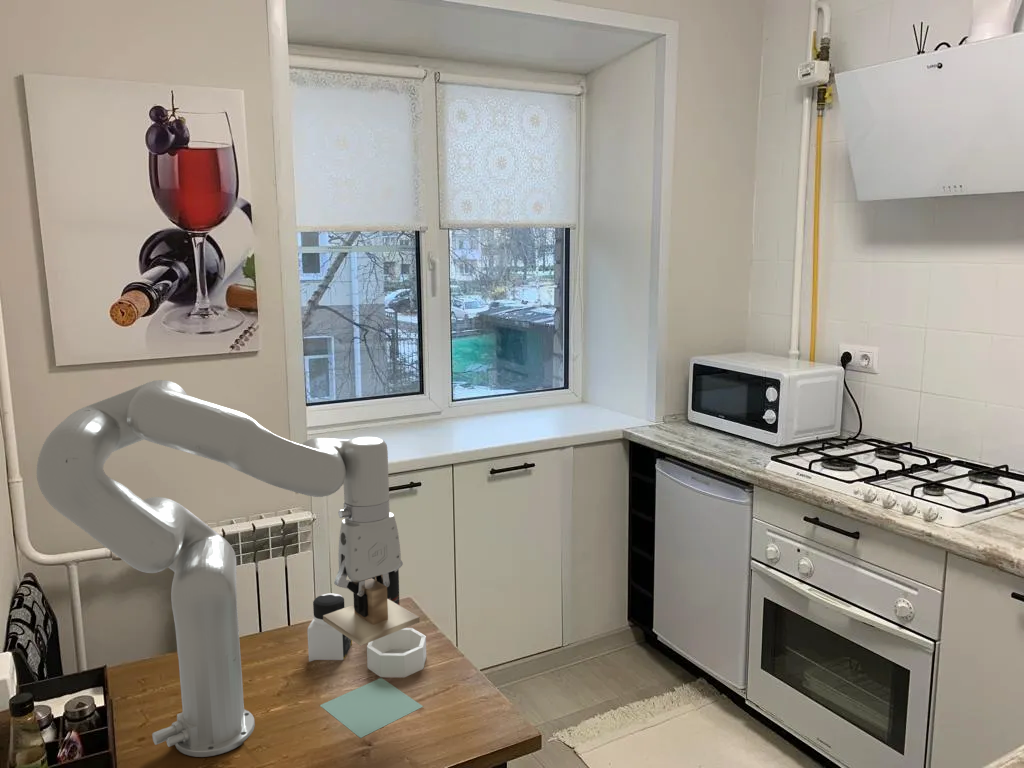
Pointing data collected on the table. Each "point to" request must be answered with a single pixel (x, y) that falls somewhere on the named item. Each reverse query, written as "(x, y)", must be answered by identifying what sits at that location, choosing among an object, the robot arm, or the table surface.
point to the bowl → (397, 653)
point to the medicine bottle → (326, 631)
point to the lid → (371, 616)
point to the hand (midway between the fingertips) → (370, 609)
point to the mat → (371, 707)
